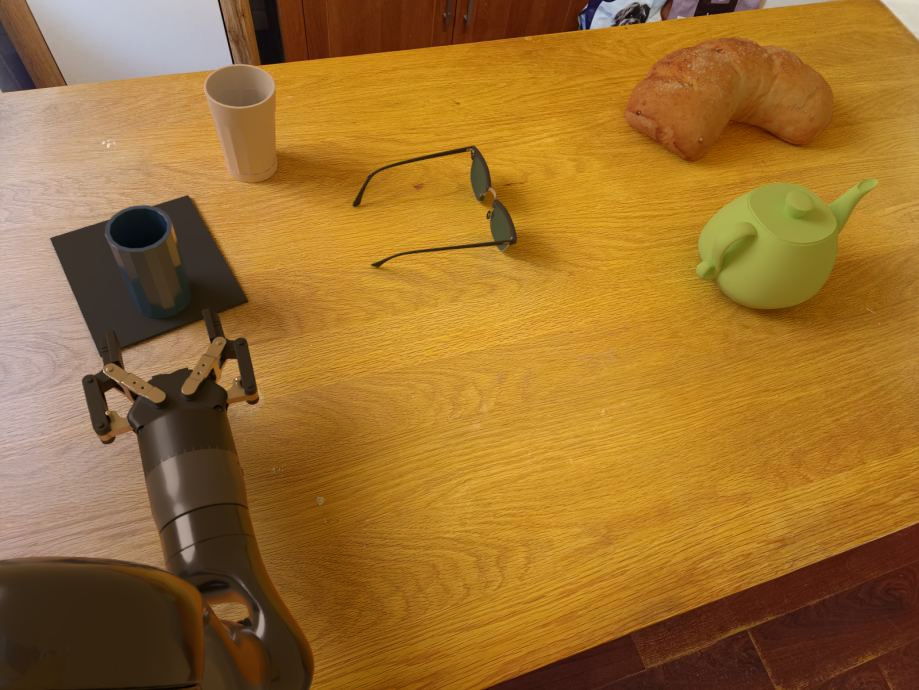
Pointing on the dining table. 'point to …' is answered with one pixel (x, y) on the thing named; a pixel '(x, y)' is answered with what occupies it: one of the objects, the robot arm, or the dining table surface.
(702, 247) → the teapot
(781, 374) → the dining table surface
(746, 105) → the bread
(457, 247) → the sunglasses
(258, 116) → the cup
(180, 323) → the mat
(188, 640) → the robot arm
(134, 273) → the tumbler
